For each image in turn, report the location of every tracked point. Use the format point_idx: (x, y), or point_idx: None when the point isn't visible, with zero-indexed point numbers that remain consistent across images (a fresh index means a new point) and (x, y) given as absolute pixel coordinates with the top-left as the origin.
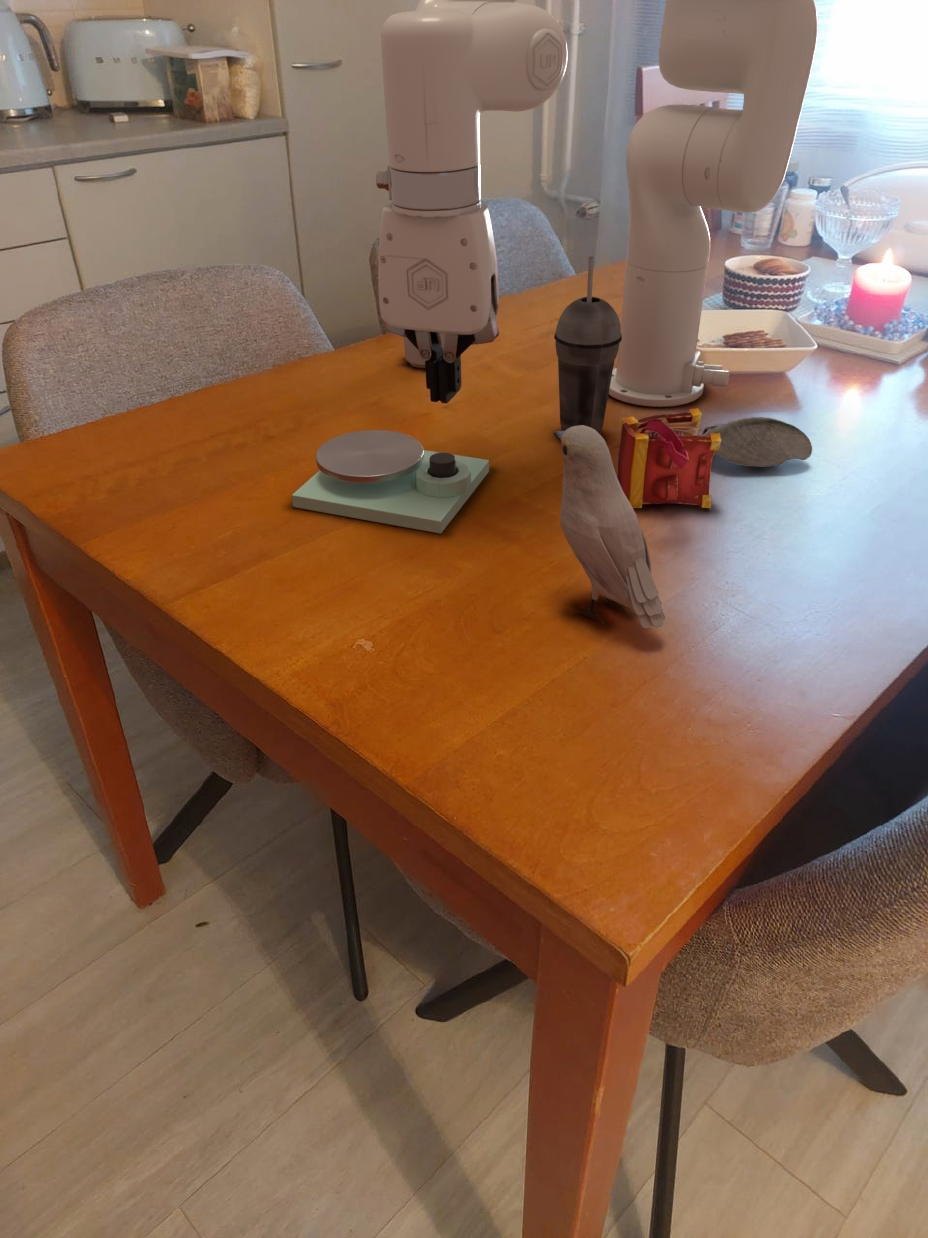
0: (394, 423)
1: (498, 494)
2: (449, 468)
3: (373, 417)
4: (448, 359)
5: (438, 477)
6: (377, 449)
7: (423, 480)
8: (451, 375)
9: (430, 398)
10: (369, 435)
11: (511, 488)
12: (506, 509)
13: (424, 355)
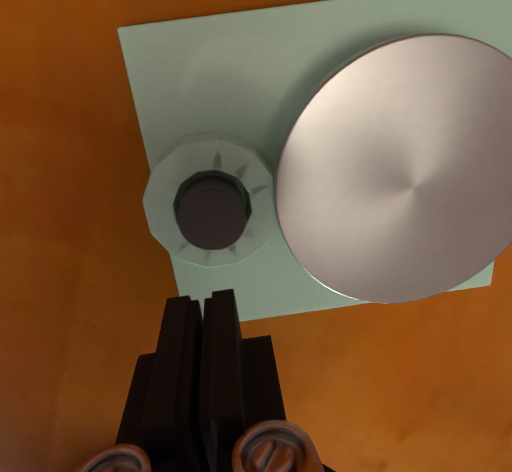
0: (444, 387)
1: (120, 246)
2: (182, 200)
3: (491, 390)
4: (126, 464)
5: (206, 176)
6: (400, 207)
7: (228, 142)
8: (142, 400)
9: (232, 291)
10: (449, 260)
11: (112, 278)
12: (68, 199)
13: (281, 446)
